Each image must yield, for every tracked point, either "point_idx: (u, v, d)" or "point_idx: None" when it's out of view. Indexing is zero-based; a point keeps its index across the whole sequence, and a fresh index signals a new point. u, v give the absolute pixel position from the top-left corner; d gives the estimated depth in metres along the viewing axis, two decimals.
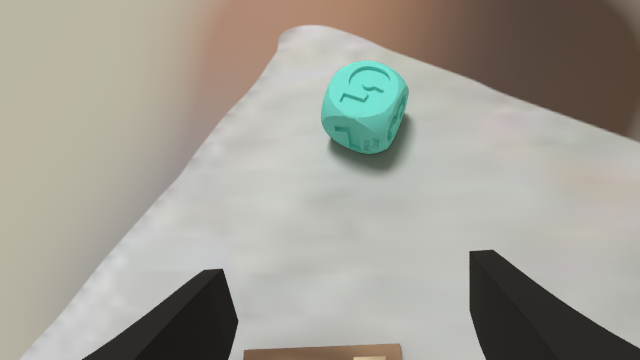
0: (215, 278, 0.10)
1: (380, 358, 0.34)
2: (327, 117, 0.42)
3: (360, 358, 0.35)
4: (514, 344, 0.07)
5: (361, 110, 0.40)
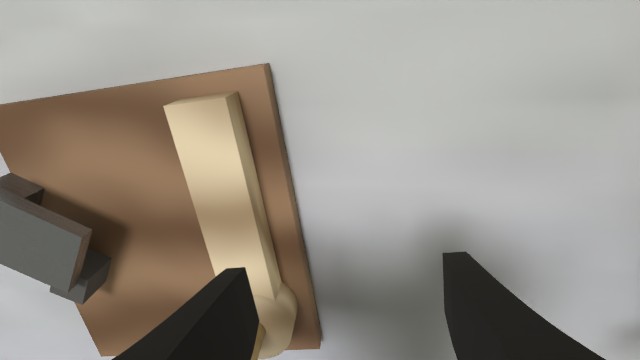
0: (238, 276, 0.10)
1: (215, 102, 0.17)
2: None
3: (177, 106, 0.17)
4: (478, 345, 0.08)
5: None
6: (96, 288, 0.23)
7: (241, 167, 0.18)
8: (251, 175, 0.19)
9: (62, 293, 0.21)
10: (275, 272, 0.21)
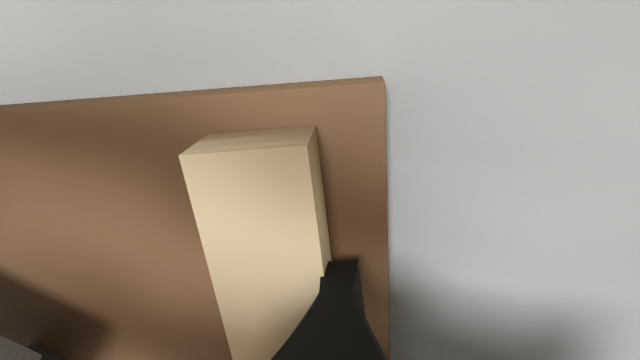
0: (357, 269, 0.10)
1: (286, 154, 0.08)
2: None
3: (206, 157, 0.08)
4: None
5: None
6: None
7: (322, 272, 0.09)
8: None
9: None
10: None
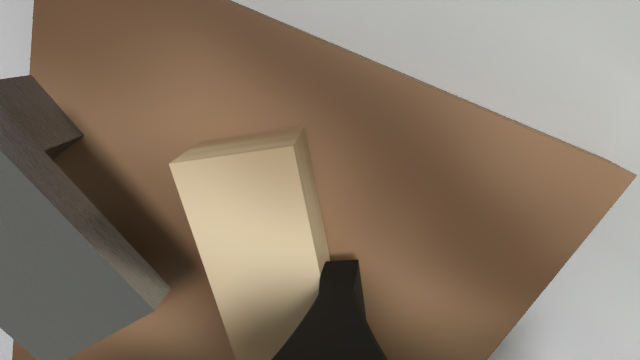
0: (358, 268, 0.10)
1: (273, 155, 0.08)
2: None
3: (196, 164, 0.09)
4: None
5: None
6: None
7: (318, 271, 0.09)
8: None
9: None
10: None
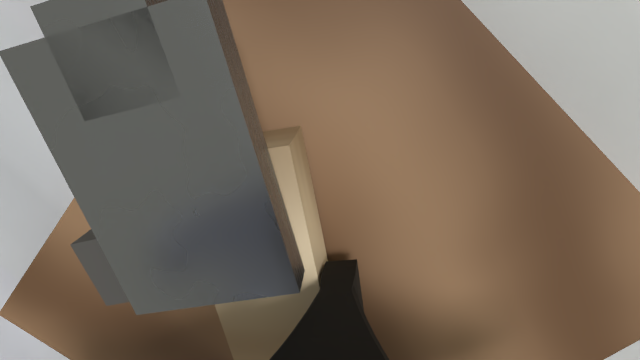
0: (356, 269, 0.10)
1: None
2: None
3: None
4: None
5: None
6: None
7: (314, 271, 0.09)
8: None
9: (93, 266, 0.10)
10: None
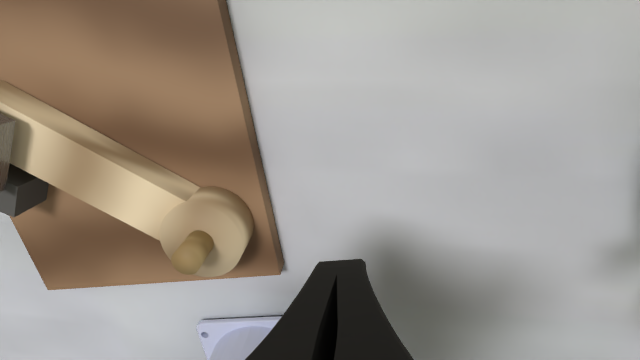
0: (338, 269, 0.10)
1: None
2: None
3: None
4: None
5: None
6: (33, 203, 0.21)
7: (35, 121, 0.18)
8: (66, 124, 0.19)
9: None
10: (177, 182, 0.20)
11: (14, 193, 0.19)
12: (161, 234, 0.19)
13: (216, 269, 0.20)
